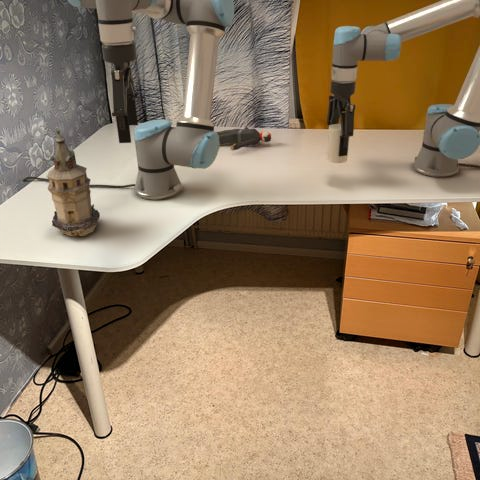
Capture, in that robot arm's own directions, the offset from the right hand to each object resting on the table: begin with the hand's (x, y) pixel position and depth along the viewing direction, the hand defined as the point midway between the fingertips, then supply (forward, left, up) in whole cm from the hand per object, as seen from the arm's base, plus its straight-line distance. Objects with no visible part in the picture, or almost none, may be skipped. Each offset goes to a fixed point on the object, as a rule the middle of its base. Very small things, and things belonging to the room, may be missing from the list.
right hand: (337, 151), depth 176 cm
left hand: (+69, +19, +20) cm, 74 cm away
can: (0, 0, -3) cm, 3 cm away
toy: (+20, -50, -11) cm, 55 cm away
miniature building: (+85, +4, -11) cm, 86 cm away
